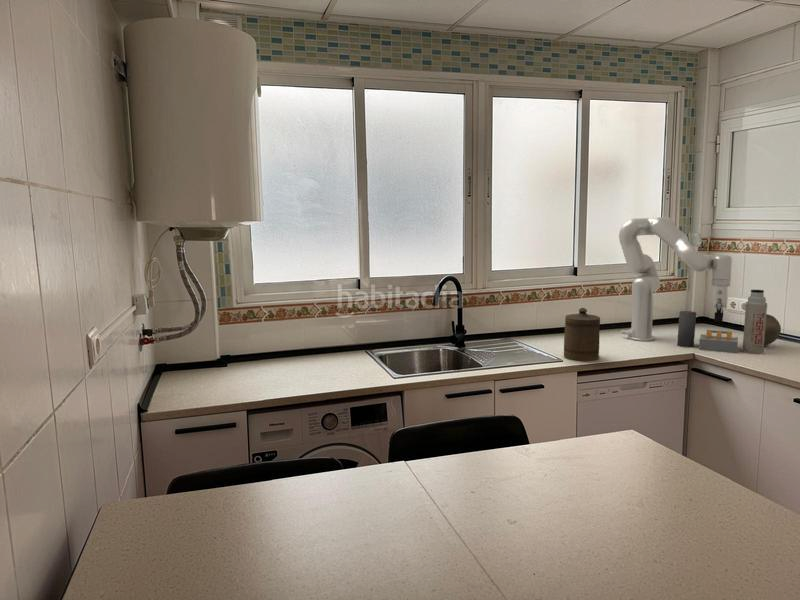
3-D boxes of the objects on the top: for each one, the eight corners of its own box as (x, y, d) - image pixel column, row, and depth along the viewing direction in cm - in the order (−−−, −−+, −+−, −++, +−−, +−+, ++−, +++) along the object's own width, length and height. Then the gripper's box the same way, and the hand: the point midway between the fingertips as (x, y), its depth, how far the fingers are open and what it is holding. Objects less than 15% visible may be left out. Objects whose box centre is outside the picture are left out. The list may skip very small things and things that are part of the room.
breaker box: (699, 349, 258) (699, 338, 257) (700, 344, 268) (701, 333, 268) (737, 353, 251) (737, 341, 250) (737, 347, 261) (737, 336, 260)
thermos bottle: (765, 354, 248) (770, 291, 243) (744, 353, 250) (748, 290, 246) (761, 350, 255) (766, 289, 251) (740, 349, 258) (745, 288, 254)
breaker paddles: (706, 337, 261) (706, 330, 260) (706, 335, 262) (707, 329, 261) (731, 339, 256) (731, 332, 255) (731, 337, 257) (732, 331, 256)
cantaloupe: (740, 346, 263) (742, 314, 260) (747, 341, 273) (749, 310, 271) (776, 351, 253) (779, 318, 251) (782, 345, 263) (785, 313, 261)
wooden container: (602, 355, 252) (604, 306, 248) (594, 362, 239) (595, 311, 236) (569, 351, 259) (570, 304, 256) (559, 358, 247) (560, 309, 244)
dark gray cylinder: (680, 347, 264) (682, 313, 261) (675, 343, 270) (677, 310, 268) (695, 347, 262) (698, 313, 260) (690, 344, 269) (693, 311, 267)
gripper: (730, 285, 246) (727, 323, 249) (730, 280, 261) (728, 317, 263) (710, 284, 250) (708, 322, 252) (712, 280, 265) (710, 316, 267)
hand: (718, 319), depth 258 cm, fingers open, 9 cm apart
